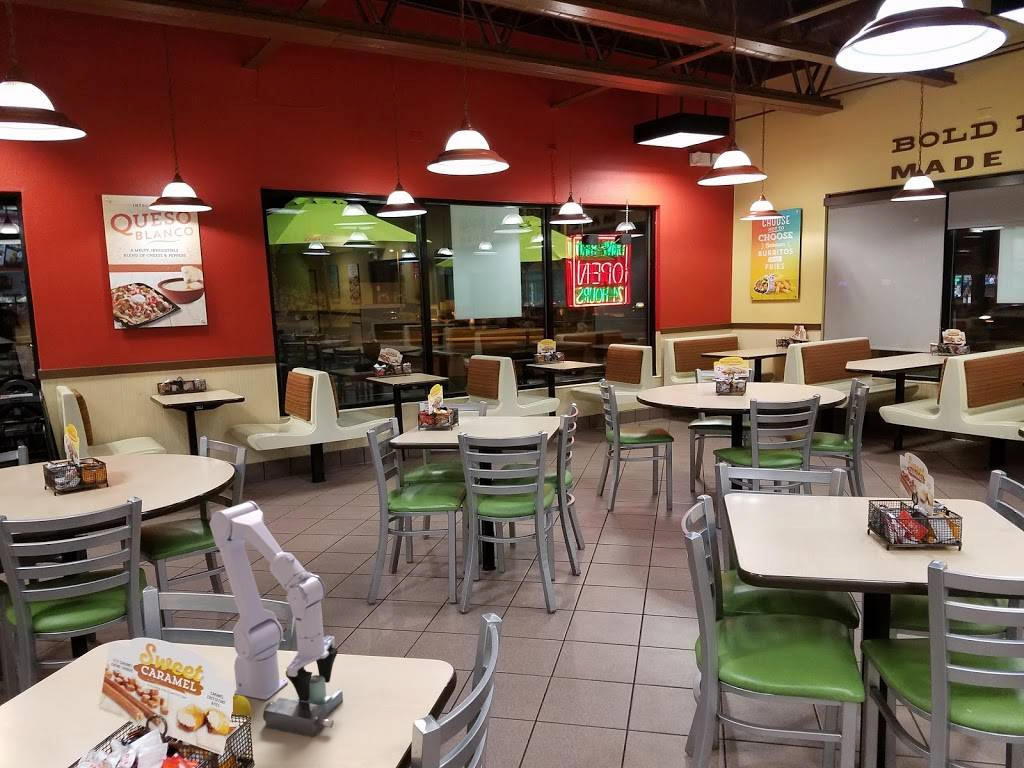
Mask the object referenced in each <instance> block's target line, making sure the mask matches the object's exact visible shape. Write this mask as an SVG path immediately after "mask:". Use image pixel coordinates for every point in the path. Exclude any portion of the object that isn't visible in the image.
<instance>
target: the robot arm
mask: <svg viewBox="0 0 1024 768" xmlns="http://www.w3.org/2000/svg"><path fill="white" fill-rule="evenodd" d="M209 527H210V530H211V533H212V538H213V540H214V544H215V547H216V548H218V549H219V553H220V556H221V558H222V561H223V565H224V568H225V572H226V575H227V579H228V581H229V584H230V588H231V592H232V595H233V598H234V602H235V603H236V607H237V611H238V614H239V619H238V620H237V622H236V624H235V625H234V627H233V629H232V633H233V639H234V640H233V641H234V642H233V647H234V650H235V653H236V654H237V656H236V658H235V660H234V663H233V664H234V665H233V668H234V677H235V688H236V690H234V691H235V694H234V695H241V696H244V697H248V698H249V697H250V698H254V699H259V700H264V701H265V700H268V699H269V698H271V697H272V696H273V695H275V694H276V693H277V692H278V691H279V690H280V689H282V688H283V687H284V686H286V684H288V683H289V681H290V682H291V684H292V685H293V687H294V690H295V692H296V694H297V696H298V697H299V700H302V701H308V700H309V696H310V689H309V686H310V679H311V676H313V671H306V668H305V667H306V666H307V665H310V664H312V663H313V662H316V665H317V670H318V671H317V672H318V675H320V676H323V677H324V678H325V684H328V683H330V682H331V679H332V678H331V677H332V670H333V666H334V663H335V660H336V657H337V655H338V653H339V652H338V648H337V647H334V646H335V644H336V639H335V638H336V637H335V636H331V635H326V636H324V626H323V625H324V624H323V623H324V622H323V614H322V613H323V611H322V603H321V602H322V601H321V600H323V599H324V598H325V596H326V593H327V592H326V589H327V588H326V586H325V582H324V581H323V579H322V578H321V577H320V576H319V575H317V574H313V573H312V572H310V571H307V570H306V569H305V568H304V567H303V565H302V564H301V563H300V561H298V559H297V558H296V557H295V556H294V555H293V554H292V553H291V552H285V551H283V550H282V548H281V546H280V545H279V543H278V542H277V541H276V539H275V537H273V535H272V533H271V532H270V531H269V529H268V528H267V525H265V523H264V513H263V511H262V510H261V509H260V507H259V505H258V504H257V503H256V502H255V501H253V500H247V501H245V502H244V503H240V504H237V505H234V506H231V507H228V508H225V509H222V510H217V511H215V512H214V513H213V514H212V516H211V518H210V521H209ZM246 541H248V542H250V543H251V544H252V546H254V547H255V549H257V551H258V552H259V553H260V554H261V555H262V556H263V557H264V558H265V559H266V560H267V561H268V562H269V572H270V573H271V574H272V575H273V577H275V579H276V580H277V581H278V583H279V584H280V585H281V587H283V589H284V590H285V591H286V593H287V594H286V600H287V603H288V605H289V606H290V609H291V614H292V616H293V617H294V626H295V636H296V647H297V653H296V654H295V656H293V659H292V661H291V662H290V663H289V665H287V666H286V671H285V677H287V679H282V678H280V671H279V659H278V658H279V657H278V649H279V648H280V644H281V643H282V641H283V638H284V630H283V627H282V624H281V623H280V622H279V621H278V619H277V616H276V614H275V612H274V611H272V610H269V609H265V608H264V606H263V602H262V599H261V595H260V592H259V589H258V586H257V583H256V578H255V577H254V574H253V573H254V572H253V569H252V566H251V564H250V560H249V556H248V554H247V550H246V548H245V543H246Z"/></svg>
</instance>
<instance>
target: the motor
mask: <svg viewBox="0 0 1024 768" xmlns="http://www.w3.org/2000/svg"><path fill="white" fill-rule="evenodd" d="M326 699H327V701H326V702H324V703H323V704H322V705H316V704H311V703H306V701H302V700H299V697H298V695H297V696H296V697H295V698H293V699H289V698H284V697H278V698H277V699H276V700H275V701H270V702H268V703H267V704H266V705H265V707H264V708H263V709H264V710H263V713H262V717H263V718H262V719H263V721H264V722H265V728H267V729H271V730H275V731H280V732H285V733H289V734H295V735H299V736H303V737H309V738H314V737H315V736H316V735H317V734H318V733H320V731H322V730H323V728H325V727H326V728H328V729H332V728H333V725H334V720H332V719H327V717H328V716H329V715H330V714H331V713H332V712H333V711H334V710H335V709H336V708H337V707H338V706H340V704H342V703H343V701H344V695H343V690H341V689H338V690H337V691H335V692H334V693H333V694H332V695H331V696H328V695H326Z"/></svg>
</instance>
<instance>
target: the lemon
mask: <svg viewBox="0 0 1024 768" xmlns="http://www.w3.org/2000/svg"><path fill="white" fill-rule="evenodd" d="M232 697H233V712H232V713H233V714H239V715H245V716H249V717H250V719H252V718H251V716H252V708H251V703H250V701H249V700H248V699H247V697H246V696H243V695H238V694H234V695H233V696H232Z"/></svg>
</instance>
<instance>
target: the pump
mask: <svg viewBox="0 0 1024 768" xmlns="http://www.w3.org/2000/svg"><path fill="white" fill-rule="evenodd" d="M309 689H310V696H309V700H308V701H306V703H311V704H316V705H322V704H323V703H324V702H326V701H327V699H326V696H327V689H326V682H325V678H324V677H323V676H320V675H319V674H314V675H311V679H310V686H309Z"/></svg>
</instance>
